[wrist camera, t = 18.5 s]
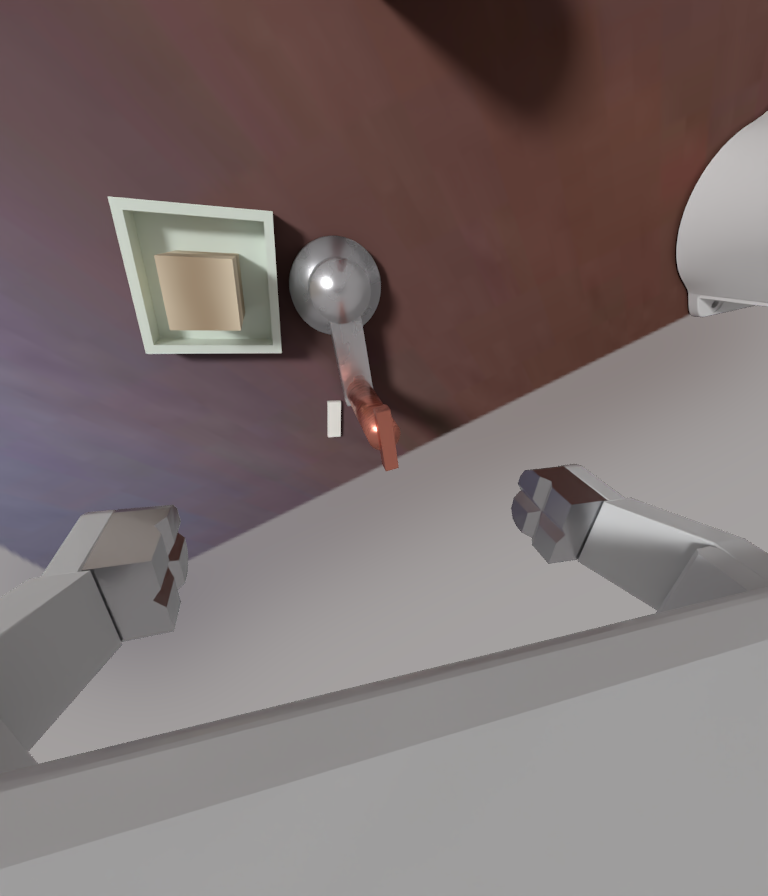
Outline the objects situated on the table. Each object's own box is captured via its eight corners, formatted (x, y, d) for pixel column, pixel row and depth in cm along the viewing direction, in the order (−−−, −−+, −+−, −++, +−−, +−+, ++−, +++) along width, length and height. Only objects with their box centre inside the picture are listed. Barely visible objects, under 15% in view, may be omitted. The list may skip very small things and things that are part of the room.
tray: (272, 212, 26) (272, 211, 24) (280, 344, 31) (281, 353, 29) (121, 199, 24) (107, 196, 22) (154, 344, 28) (145, 353, 26)
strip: (340, 400, 34) (341, 401, 34) (340, 435, 36) (340, 436, 36) (327, 400, 34) (327, 402, 34) (327, 435, 36) (328, 437, 36)
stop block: (238, 253, 26) (232, 259, 21) (245, 312, 28) (240, 330, 23) (175, 250, 25) (153, 255, 20) (187, 312, 27) (169, 330, 22)
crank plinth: (379, 239, 29) (383, 239, 28) (374, 332, 32) (378, 335, 31) (286, 232, 27) (287, 232, 26) (291, 331, 30) (292, 334, 29)
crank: (301, 262, 27) (317, 277, 18) (360, 251, 27) (402, 261, 19) (336, 414, 33) (360, 478, 25) (383, 403, 34) (423, 461, 26)
